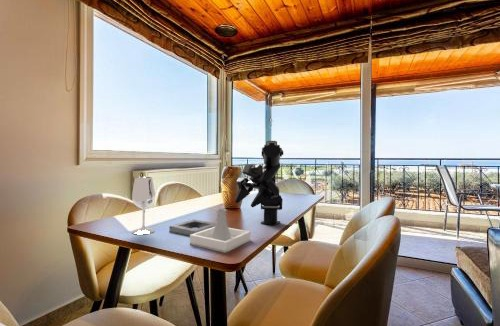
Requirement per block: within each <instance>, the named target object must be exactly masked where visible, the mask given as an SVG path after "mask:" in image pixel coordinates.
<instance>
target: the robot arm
mask: <svg viewBox="0 0 500 326" xmlns="http://www.w3.org/2000/svg"><path fill="white" fill-rule="evenodd" d="M283 156H284V150H283V149H282V147H281V146H280V144H278V141H276V140H267V141H266V143H265V144H264V145H263V147H261V157H262V160H263V165H262V164H258V163H257V164H254V165H253V164H244V167H243V169H242V171H241V173H242V174H244V175H246V176H248V177H238V178H237V180H236V185H237V186H238V190H237V194H236V197H235V200H234V203H235V204H239V203H240V202H241V201H243V200H244V199H245V198H246V197H248V196H249V195H250V194H251V192H252V191H253V190H254V189H257V190H258V192H257V194H256V195H255V197H254V198H253V200H252V202H251V204H250V208H254V207H257V206H258V205H260V210H263V221H261V222H260V224H261V225H262V224H263V225H269V226H276V225H278V224H280V223H281V221H278V211H281V210H283V197H282V195H280V187H279V186H277V183H276V181H277V180H276V179H277V177H276V175H277V172H279V170H280V168H281V164H280V161H281V157H283Z"/></svg>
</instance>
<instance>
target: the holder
mask: <svg viewBox="0 0 500 326" xmlns="http://www.w3.org/2000/svg"><path fill="white" fill-rule="evenodd" d="M215 225H216V222H211V221H206V220H205V221H204V220H199V219H192V220H190V219H189V220H186V221H184V222H180V223H175V224H173V225H169V226H168V228H169V231H168V232H170V233H175V234H180V235H184V236H186V237H187V236H189V237H190V235H191V234H194V233H197V232H200V231H203V230H206V229H209V228H212V227H215ZM193 227H197V228H193Z"/></svg>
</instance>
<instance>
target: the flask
mask: <svg viewBox="0 0 500 326" xmlns="http://www.w3.org/2000/svg"><path fill="white" fill-rule="evenodd" d="M226 212H227V209H225V208H217V209H216V213H217V218H216V222H215V223H216V225H215V228H214V231H213V233H212V236H211V238H212V239H217V240H222V241H227V240H229V239H231V234H230V232H229V229H228V228H229V225H228V222H227V219H226Z"/></svg>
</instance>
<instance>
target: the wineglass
mask: <svg viewBox="0 0 500 326" xmlns="http://www.w3.org/2000/svg"><path fill="white" fill-rule="evenodd" d="M131 199H132V203H133V204H134V205H135V206H136V207H138V208H139V209H141V211H142V212H141V213H142V222H141V223H142V225H141V228H137V229H134V230H132V232H131V233H132V234H133V235H148V234H149V235H150V234H152V233H154V232H155V229H153V228H151V227H150V228H149V227H146V225H145V213H146V209H147V208H150V206H152V205H153V204H154V202H155V199H156V191H155V185H154V181H153V177H151V176H137V177H135V180H134V184H133V188H132V193H131Z"/></svg>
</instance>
